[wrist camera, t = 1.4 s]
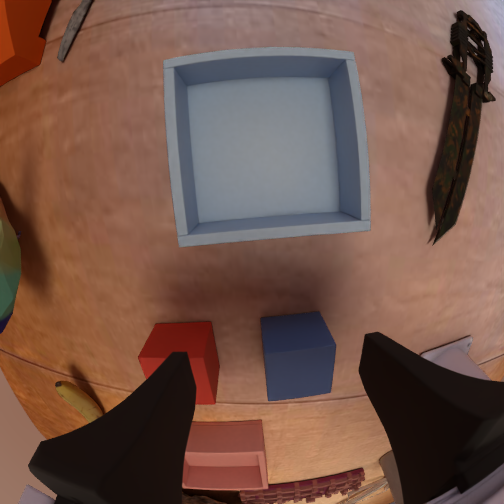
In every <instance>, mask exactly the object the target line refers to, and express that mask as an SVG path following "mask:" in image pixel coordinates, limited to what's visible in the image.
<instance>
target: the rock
mask: <svg viewBox="0 0 504 504" xmlns="http://www.w3.org/2000/svg"><path fill="white" fill-rule="evenodd" d="M182 504H226V503H223V502H218V501H216V500H213V499H211V498H209V497H206V496H203V495H202V496H193V497H190V496H188V495H186V494H184V493H182Z"/></svg>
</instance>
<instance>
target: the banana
mask: <svg viewBox="0 0 504 504" xmlns="http://www.w3.org/2000/svg"><path fill="white" fill-rule="evenodd" d="M55 386H56V390H57V392H58V394H59V395H60V396H61V397H62V398H63V399H64V400H65V401H66V402H68V403H69V404H70V405H72V406H73V407H74V408H76V409H77V410H78V411H79V412H80V413H81V414H82V415H83V416H84V417H85V418H86V419H87V421H88V422H89V423H91V422H92V421H94V420H96V419H97V418H99V417H101V416H102V415H103V413H102V411H101V409H100V407H99V406H98V405H97V403H96V402H95V401H94V400H93V399H92V398H91V397H90V396H89V395H87V394H86V393H85V392H84V391H83V390H81V389H80V388H78V387H77V386H75V385H74V384H72V383H71V382H68V381H58V382H56V385H55Z"/></svg>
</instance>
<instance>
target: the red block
mask: <svg viewBox="0 0 504 504" xmlns="http://www.w3.org/2000/svg"><path fill="white" fill-rule="evenodd" d="M172 352H187V353H188V357H189V361H190V365H191V368H192V372H193V376H194V379H195V383H196V387H197V391H196V403H195V404H203V405H204V404H215V403H216V394H217V385H218V376H219V367H220V365H219V360H218V356H217V350H216V345H215V340H214V335H213V329H212V324H211V322H193V323H165V324H155V326H154V328H153V330H152V332H151V334H150V335H149V337H148V339H147V341H146V343H145V345H144V347H143V349H142V351H141V352H140V354H139V356H138V359H139V362H140V364H141V367H142V370H143V372H144V375H145V377H146V379H147V378H148V377H149V376H150V375H151V374H152V373H153V372H154V371H155V370H156V369H157V368H158V367H159V366H160V365H161V364H162V363H163V361H164V360H165V359H166V358H167V357H168V356H169V355H170V354H171V353H172Z"/></svg>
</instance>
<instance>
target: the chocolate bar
mask: <svg viewBox="0 0 504 504" xmlns="http://www.w3.org/2000/svg"><path fill="white" fill-rule="evenodd" d="M364 475H365V473H364V470H363V468H361V469H358V470H354V471H350V472H346V473H342V474H338V475H334V476H329V477H324V478H319V479H314V480H308V481H302V482H295V483H287V484H278V485H268V487H269V488H268V489H257V490H240V494H238V498H241V501H242V503H243V504H253V503H260V504H265V503H269V504H273V503H278V504H282V503H286V502H287V501H290V500H294V503H295V502H298V501H302V498H306V502H307V503H309V502H315V498H319V497H322V495H324V494H325V497H327V498H330V497H331V496H332V495H331V494H333V493H334V494H338V492H339V491H340V493H341V494H342V496H343V495H346V494H347V493H346V492H348V489H349V491H350V490H352V491H358V490H359V488H358V487H360V486H361V481H364V480H365V477H364Z"/></svg>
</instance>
